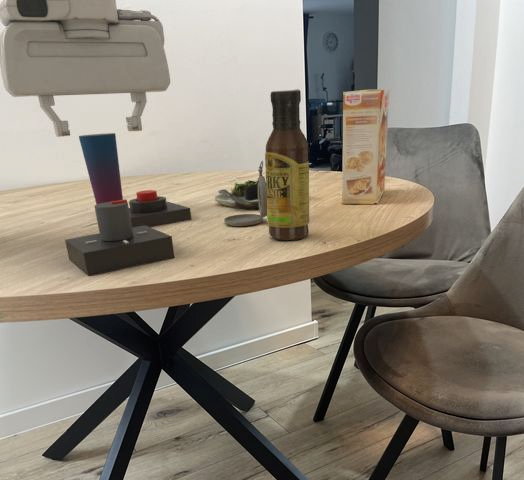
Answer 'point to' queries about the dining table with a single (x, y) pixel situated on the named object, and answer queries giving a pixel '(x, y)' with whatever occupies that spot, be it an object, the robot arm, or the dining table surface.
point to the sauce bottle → (287, 170)
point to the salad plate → (240, 196)
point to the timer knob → (114, 220)
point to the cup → (102, 166)
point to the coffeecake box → (364, 145)
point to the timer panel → (119, 250)
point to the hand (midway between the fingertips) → (100, 133)
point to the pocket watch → (262, 203)
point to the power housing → (157, 212)
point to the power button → (146, 195)
